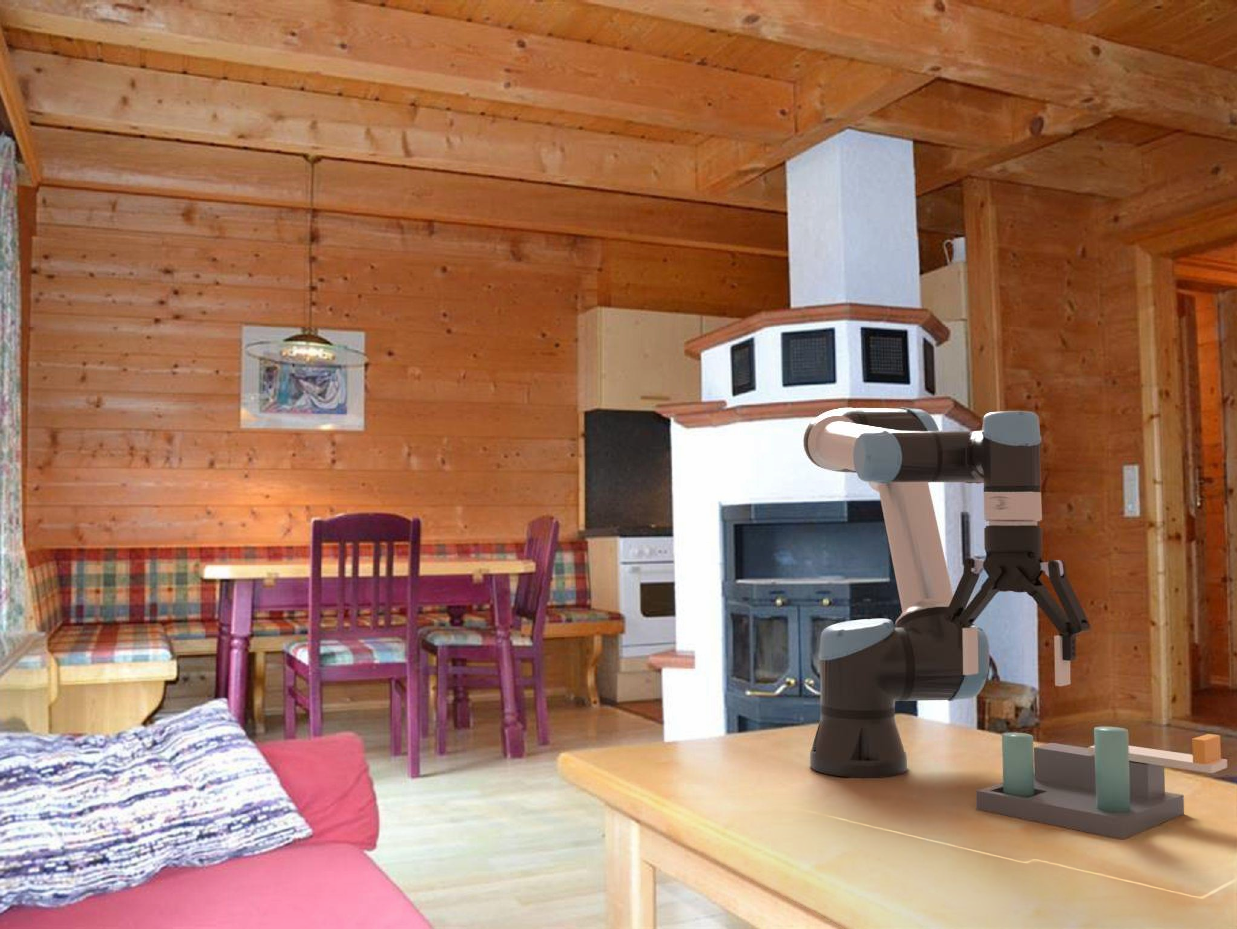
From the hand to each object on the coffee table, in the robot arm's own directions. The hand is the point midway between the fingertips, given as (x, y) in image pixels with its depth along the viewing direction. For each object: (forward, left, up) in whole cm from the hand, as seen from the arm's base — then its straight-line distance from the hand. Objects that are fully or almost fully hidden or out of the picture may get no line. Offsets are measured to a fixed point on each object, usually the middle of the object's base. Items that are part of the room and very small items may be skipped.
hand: (1015, 679), depth 156 cm
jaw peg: (0, 0, -18) cm, 18 cm away
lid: (+14, +10, -10) cm, 20 cm away
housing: (+6, +5, -18) cm, 19 cm away
